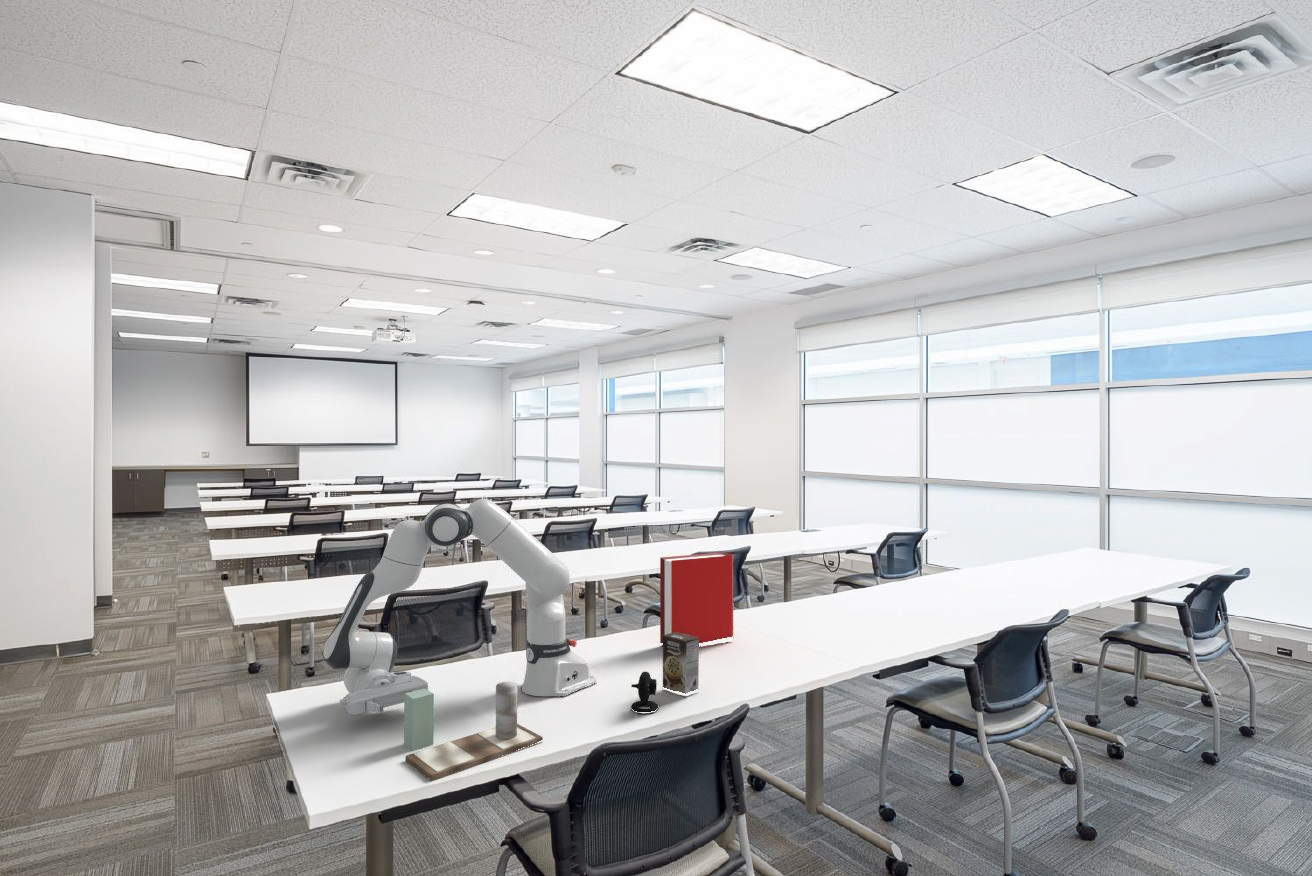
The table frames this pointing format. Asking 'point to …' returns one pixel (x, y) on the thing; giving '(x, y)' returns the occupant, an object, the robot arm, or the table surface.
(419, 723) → the sage green tall pillar
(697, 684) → the coffee box
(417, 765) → the board
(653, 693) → the webcam
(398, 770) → the table surface
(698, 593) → the book
